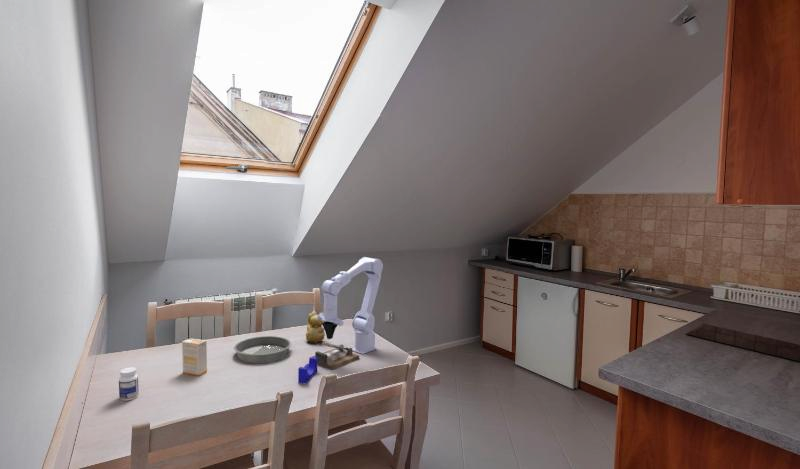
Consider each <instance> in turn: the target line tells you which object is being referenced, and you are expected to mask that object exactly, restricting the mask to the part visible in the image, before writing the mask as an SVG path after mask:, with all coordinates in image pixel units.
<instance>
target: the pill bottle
mask: <svg viewBox="0 0 800 469" xmlns="http://www.w3.org/2000/svg"><path fill="white" fill-rule="evenodd" d="M119 373H120V374H119V375H120V377H119V378H118V392H119V393H118V396H119V398H118V399H119V400H121V401H124V402H126V401H132V400H135V399H136V398H138V397H139V394H140V393H139V375H138V374H137V368H136V367H133V366H132V367H125V368H123V369H120V371H119Z"/></svg>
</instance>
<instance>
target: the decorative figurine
mask: <svg viewBox="0 0 800 469" xmlns="http://www.w3.org/2000/svg"><path fill="white" fill-rule="evenodd" d="M320 314H322V315H324V312H319V314H317V312H316V311H315V310H312V312H310V313H308V317H307V323H306V330H307V331H306V332H305V339H306V341H307V343H311V344H318V343H320V342H322V341H323V340H324V339H325V336H326V332H325V329H324V327H323V325H322V323H324V321H322V320H321V319H320V320H319V319H317V317H318V315H320Z"/></svg>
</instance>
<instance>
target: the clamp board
mask: <svg viewBox="0 0 800 469" xmlns="http://www.w3.org/2000/svg"><path fill="white" fill-rule="evenodd" d="M337 345H338V346H344V344H337ZM347 348H348V349H347V350H344V349H339V348H332V349H331V350H327V351H324V352H321V351H315V354H314V355H312V357H315V358H318V364H317V366H321V367H322V368H325V369H327V370H335V369H336V368H340V367H341V366H344V365H347V364H349V363H351V362H352V363H353V362H354V361H357V360H359V359H360V355H359V354H357V353H354V352H353V351H352V347H347Z"/></svg>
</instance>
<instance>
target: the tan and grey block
mask: <svg viewBox="0 0 800 469" xmlns="http://www.w3.org/2000/svg"><path fill="white" fill-rule="evenodd" d="M321 345H323V346H324V347H325V346H326V347H328V348H332V349H335V348H339V349H343V350H346V351H347V349H348V348H349V347H347V346H344V345H343V346H338V345H339V344H332V343H330V342H327V341H323V342H322V343H321Z"/></svg>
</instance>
